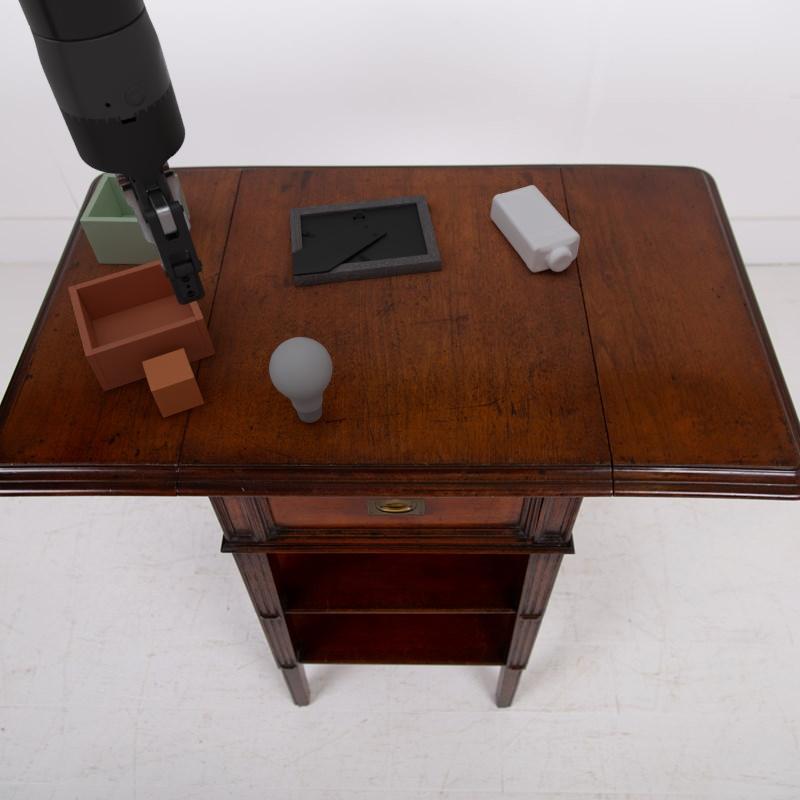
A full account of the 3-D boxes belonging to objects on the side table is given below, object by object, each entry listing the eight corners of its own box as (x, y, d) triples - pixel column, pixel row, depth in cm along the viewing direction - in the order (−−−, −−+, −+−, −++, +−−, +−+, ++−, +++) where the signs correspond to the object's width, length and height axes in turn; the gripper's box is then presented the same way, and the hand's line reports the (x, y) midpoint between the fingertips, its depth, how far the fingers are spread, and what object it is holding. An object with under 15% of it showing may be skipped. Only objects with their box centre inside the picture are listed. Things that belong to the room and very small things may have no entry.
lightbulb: (313, 451, 77) (299, 382, 68) (270, 422, 80) (250, 353, 71) (351, 412, 80) (342, 341, 71) (308, 386, 82) (294, 314, 74)
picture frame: (295, 286, 92) (441, 270, 93) (293, 274, 91) (441, 257, 92) (291, 218, 101) (425, 204, 102) (288, 206, 99) (425, 191, 100)
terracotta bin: (104, 391, 83) (85, 356, 78) (86, 323, 90) (67, 287, 85) (215, 354, 86) (203, 318, 81) (190, 290, 92) (177, 253, 88)
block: (163, 418, 80) (151, 391, 77) (154, 388, 83) (141, 361, 79) (204, 403, 81) (194, 376, 78) (193, 375, 84) (183, 347, 80)
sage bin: (172, 265, 95) (157, 221, 90) (98, 263, 96) (79, 220, 91) (190, 217, 101) (177, 173, 96) (120, 215, 102) (103, 172, 97)
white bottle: (536, 284, 91) (540, 257, 88) (489, 221, 99) (491, 194, 95) (583, 269, 93) (589, 242, 89) (533, 209, 100) (537, 182, 97)
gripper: (36, 51, 53) (113, 232, 66) (76, 154, 45) (155, 338, 58) (141, 25, 55) (196, 206, 68) (197, 119, 47) (248, 306, 60)
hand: (177, 267), depth 63 cm, fingers open, 8 cm apart
